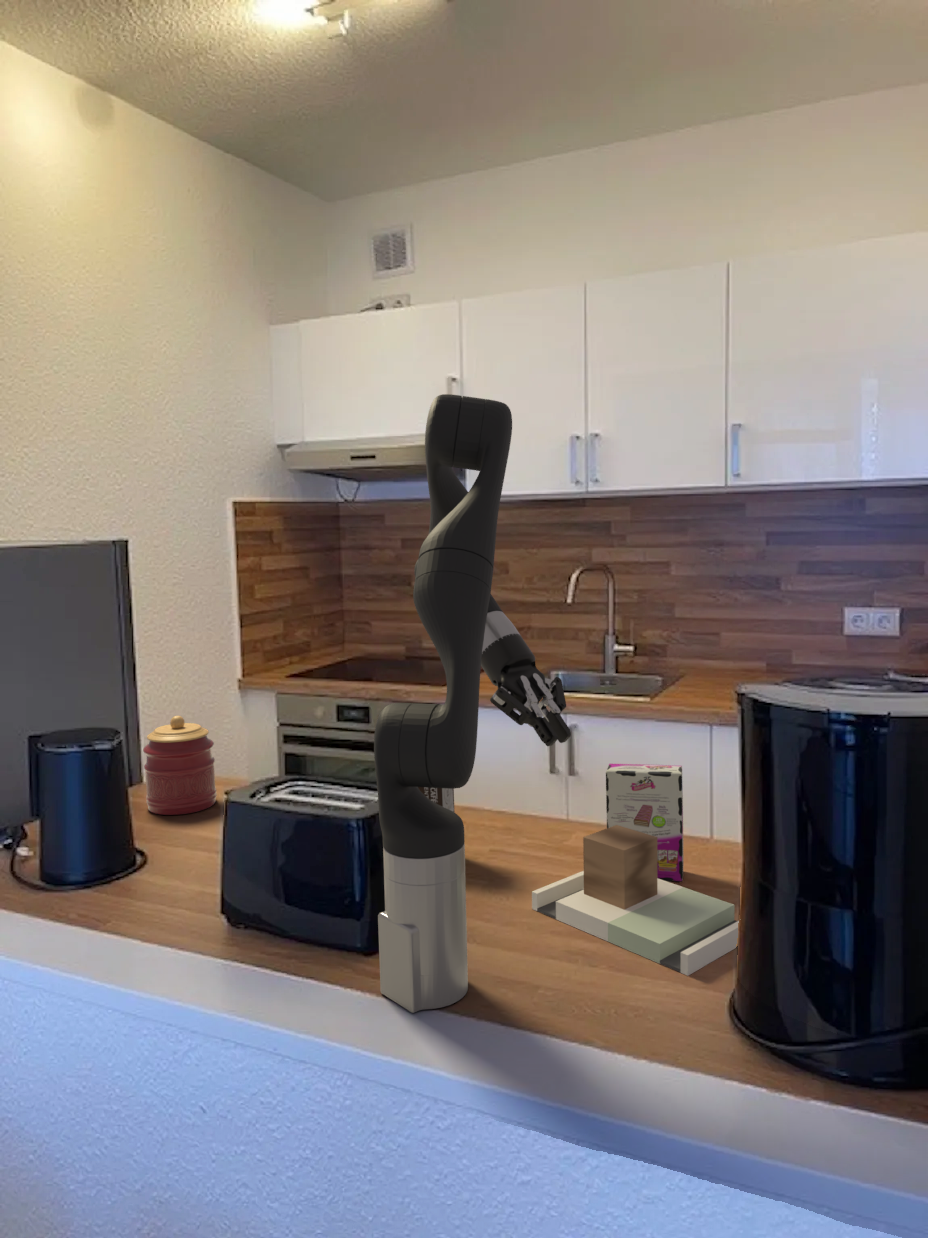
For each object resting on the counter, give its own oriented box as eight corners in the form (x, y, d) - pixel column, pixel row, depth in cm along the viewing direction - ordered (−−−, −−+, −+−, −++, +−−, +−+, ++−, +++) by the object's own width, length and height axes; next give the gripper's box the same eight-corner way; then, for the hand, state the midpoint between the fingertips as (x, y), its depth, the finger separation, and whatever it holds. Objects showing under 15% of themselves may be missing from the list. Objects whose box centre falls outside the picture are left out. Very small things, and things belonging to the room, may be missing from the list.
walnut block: (624, 909, 119) (624, 850, 118) (583, 894, 124) (583, 837, 123) (657, 894, 123) (657, 837, 122) (617, 879, 128) (616, 825, 128)
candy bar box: (683, 870, 138) (683, 764, 136) (683, 883, 133) (683, 773, 131) (609, 865, 141) (608, 761, 139) (606, 877, 136) (605, 770, 134)
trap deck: (687, 975, 106) (687, 955, 106) (532, 909, 125) (531, 891, 125) (761, 932, 117) (762, 914, 116) (607, 877, 136) (607, 861, 135)
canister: (200, 791, 185) (195, 706, 183) (228, 805, 175) (223, 715, 173) (136, 805, 176) (130, 716, 175) (162, 821, 167) (156, 726, 165)
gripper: (476, 636, 131) (539, 734, 123) (543, 627, 140) (605, 718, 132) (453, 669, 135) (512, 765, 127) (520, 658, 144) (578, 747, 136)
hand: (559, 740), depth 130 cm, fingers closed
